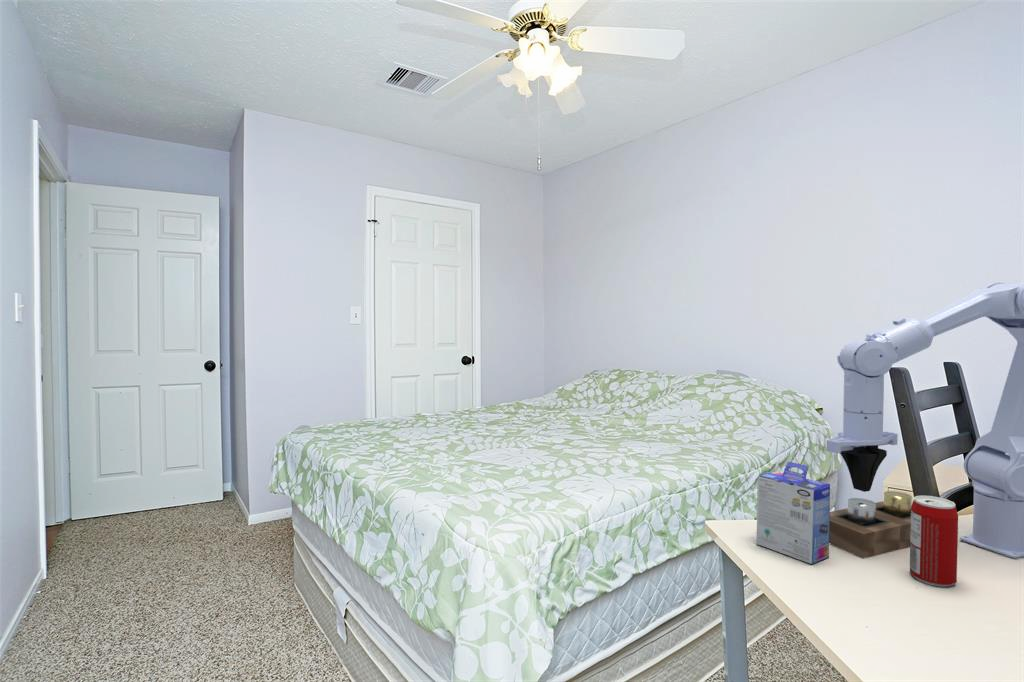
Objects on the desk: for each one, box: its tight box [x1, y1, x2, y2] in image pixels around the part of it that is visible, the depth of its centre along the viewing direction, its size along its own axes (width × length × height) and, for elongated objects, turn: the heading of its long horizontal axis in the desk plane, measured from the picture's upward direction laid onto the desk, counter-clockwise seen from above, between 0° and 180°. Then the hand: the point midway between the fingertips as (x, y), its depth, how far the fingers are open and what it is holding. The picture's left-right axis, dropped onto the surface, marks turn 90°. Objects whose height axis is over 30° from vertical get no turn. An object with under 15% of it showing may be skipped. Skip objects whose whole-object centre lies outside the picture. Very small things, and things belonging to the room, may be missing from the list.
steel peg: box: [847, 497, 877, 526], centre depth 93 cm, size 4×4×4 cm
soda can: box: [909, 495, 959, 588], centre depth 80 cm, size 6×6×12 cm
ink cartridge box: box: [755, 461, 831, 565], centre depth 90 cm, size 10×6×14 cm, turn 34°
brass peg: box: [883, 490, 913, 518], centre depth 97 cm, size 4×4×4 cm
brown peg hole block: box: [829, 500, 911, 559], centre depth 95 cm, size 20×9×4 cm, turn 111°
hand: (861, 489), depth 93 cm, fingers closed
